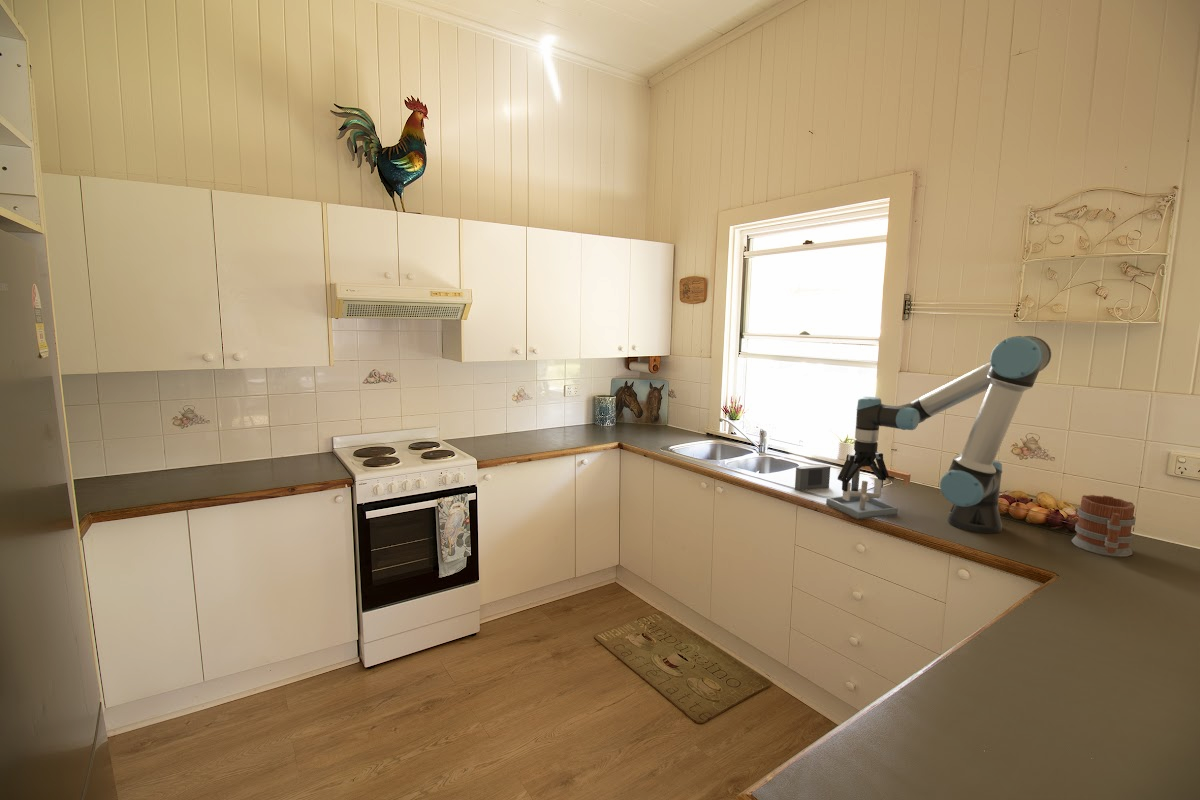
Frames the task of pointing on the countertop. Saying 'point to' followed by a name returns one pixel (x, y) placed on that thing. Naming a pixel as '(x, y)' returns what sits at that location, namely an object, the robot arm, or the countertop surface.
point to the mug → (1105, 526)
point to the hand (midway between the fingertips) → (861, 498)
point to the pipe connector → (863, 494)
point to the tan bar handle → (894, 474)
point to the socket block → (812, 477)
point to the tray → (871, 509)
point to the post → (855, 481)
